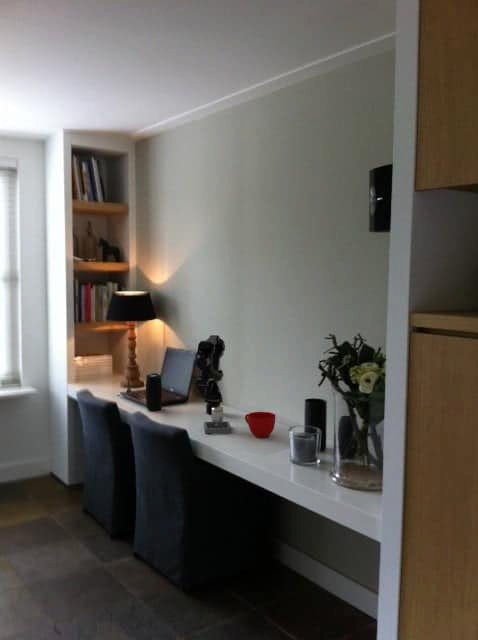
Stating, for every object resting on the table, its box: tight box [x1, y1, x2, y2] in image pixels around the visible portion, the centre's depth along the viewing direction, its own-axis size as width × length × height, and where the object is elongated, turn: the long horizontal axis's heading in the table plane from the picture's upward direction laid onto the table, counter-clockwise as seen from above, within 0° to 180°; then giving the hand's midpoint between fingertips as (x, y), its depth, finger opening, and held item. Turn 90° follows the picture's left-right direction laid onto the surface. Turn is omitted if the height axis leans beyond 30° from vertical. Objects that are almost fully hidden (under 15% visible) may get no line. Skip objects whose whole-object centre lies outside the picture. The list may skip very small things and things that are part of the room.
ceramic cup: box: [244, 411, 276, 439], centre depth 289 cm, size 13×17×10 cm
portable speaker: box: [145, 372, 163, 412], centre depth 337 cm, size 9×9×20 cm
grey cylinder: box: [211, 406, 224, 428], centre depth 297 cm, size 7×7×11 cm
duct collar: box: [203, 420, 232, 435], centre depth 297 cm, size 12×12×2 cm
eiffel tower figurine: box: [116, 376, 133, 400], centre depth 369 cm, size 15×10×13 cm
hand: (206, 395), depth 313 cm, fingers open, 9 cm apart
